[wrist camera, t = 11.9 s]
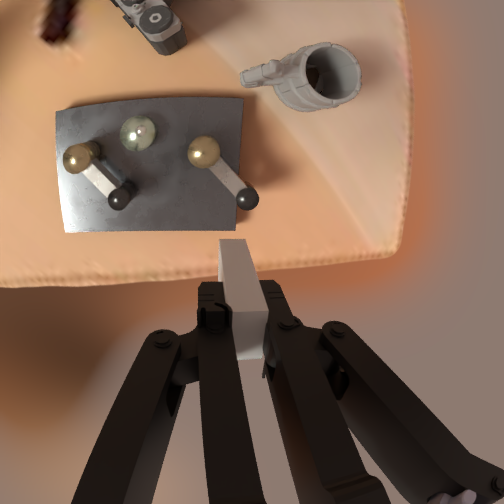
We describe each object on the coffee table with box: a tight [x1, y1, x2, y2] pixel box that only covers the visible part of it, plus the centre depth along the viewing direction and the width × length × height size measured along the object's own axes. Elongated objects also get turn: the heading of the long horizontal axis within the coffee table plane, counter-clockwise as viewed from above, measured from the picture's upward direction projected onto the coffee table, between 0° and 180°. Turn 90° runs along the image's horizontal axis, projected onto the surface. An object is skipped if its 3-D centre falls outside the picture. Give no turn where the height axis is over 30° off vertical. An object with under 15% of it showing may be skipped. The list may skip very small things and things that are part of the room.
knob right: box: [188, 135, 259, 210], centre depth 29 cm, size 3×10×4 cm, turn 40°
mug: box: [240, 42, 362, 112], centre depth 24 cm, size 8×12×12 cm, turn 94°
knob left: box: [63, 141, 136, 211], centre depth 27 cm, size 3×10×4 cm, turn 40°
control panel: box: [56, 97, 244, 232], centre depth 30 cm, size 23×16×4 cm
